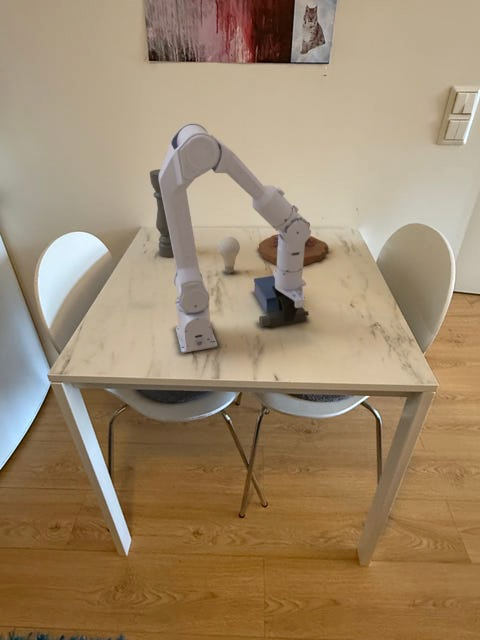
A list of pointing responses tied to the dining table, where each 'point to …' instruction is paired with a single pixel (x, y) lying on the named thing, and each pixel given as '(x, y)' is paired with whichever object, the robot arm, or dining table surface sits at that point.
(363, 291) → the dining table surface
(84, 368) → the dining table surface
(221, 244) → the lightbulb
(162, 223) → the candle holder
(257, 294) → the blue box
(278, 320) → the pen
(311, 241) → the plant
